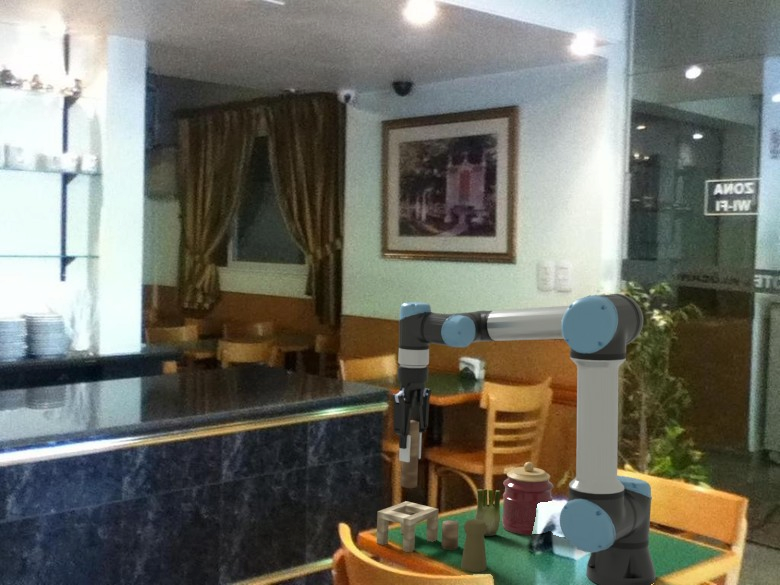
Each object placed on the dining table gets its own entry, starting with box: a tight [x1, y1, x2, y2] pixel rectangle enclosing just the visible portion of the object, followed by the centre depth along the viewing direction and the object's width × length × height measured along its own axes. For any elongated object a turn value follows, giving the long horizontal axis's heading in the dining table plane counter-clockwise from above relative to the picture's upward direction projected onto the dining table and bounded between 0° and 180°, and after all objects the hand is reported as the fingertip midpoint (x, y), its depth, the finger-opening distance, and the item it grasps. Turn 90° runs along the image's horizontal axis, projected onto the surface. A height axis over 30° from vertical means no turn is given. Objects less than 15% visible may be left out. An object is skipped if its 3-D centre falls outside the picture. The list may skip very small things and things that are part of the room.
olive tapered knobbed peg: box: [460, 518, 488, 573], centre depth 220 cm, size 6×6×11 cm
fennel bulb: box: [474, 488, 501, 537], centre depth 243 cm, size 6×5×12 cm
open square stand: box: [376, 500, 439, 553], centre depth 236 cm, size 10×12×8 cm
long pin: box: [400, 419, 419, 489], centre depth 235 cm, size 4×4×16 cm
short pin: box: [441, 520, 460, 551], centre depth 233 cm, size 4×4×6 cm
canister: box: [501, 461, 554, 536], centre depth 250 cm, size 13×13×18 cm
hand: (410, 459), depth 235 cm, fingers closed on long pin, 4 cm apart
